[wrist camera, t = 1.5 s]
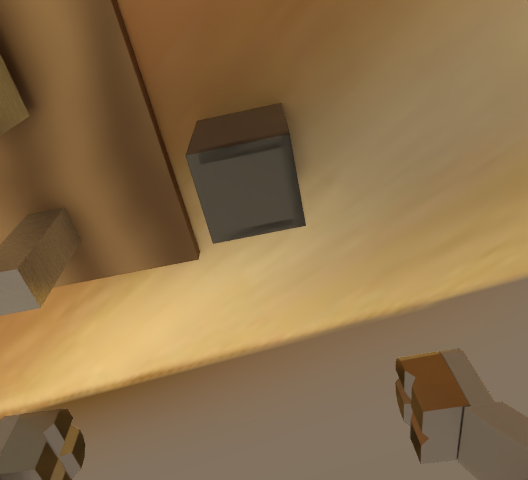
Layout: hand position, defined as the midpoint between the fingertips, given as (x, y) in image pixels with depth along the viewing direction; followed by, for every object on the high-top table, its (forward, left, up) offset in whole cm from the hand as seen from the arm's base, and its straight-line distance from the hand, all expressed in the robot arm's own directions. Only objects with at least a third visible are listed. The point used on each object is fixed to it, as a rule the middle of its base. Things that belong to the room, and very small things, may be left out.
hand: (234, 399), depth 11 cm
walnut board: (+12, -2, -20) cm, 23 cm away
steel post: (+13, +3, -19) cm, 23 cm away
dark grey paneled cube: (0, +1, -20) cm, 20 cm away
